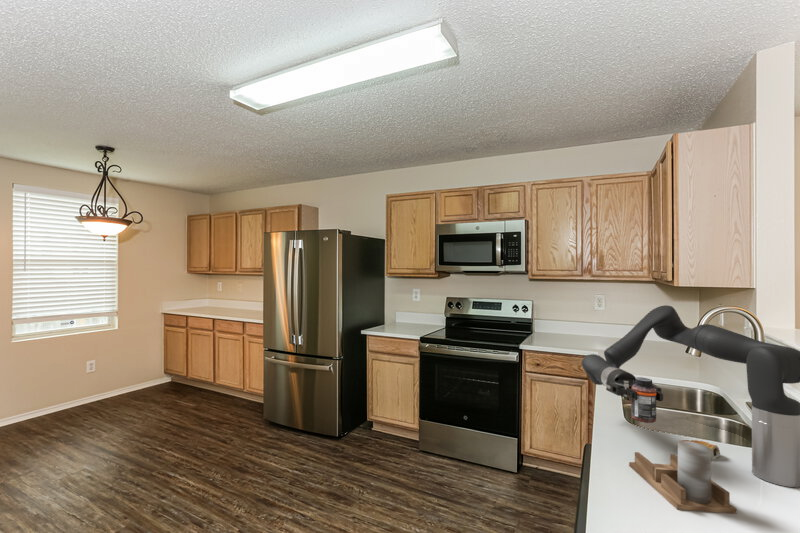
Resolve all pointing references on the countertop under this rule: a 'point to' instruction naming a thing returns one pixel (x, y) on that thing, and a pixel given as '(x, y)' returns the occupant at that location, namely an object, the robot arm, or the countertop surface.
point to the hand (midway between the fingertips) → (648, 396)
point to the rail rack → (686, 479)
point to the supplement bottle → (644, 401)
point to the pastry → (714, 448)
